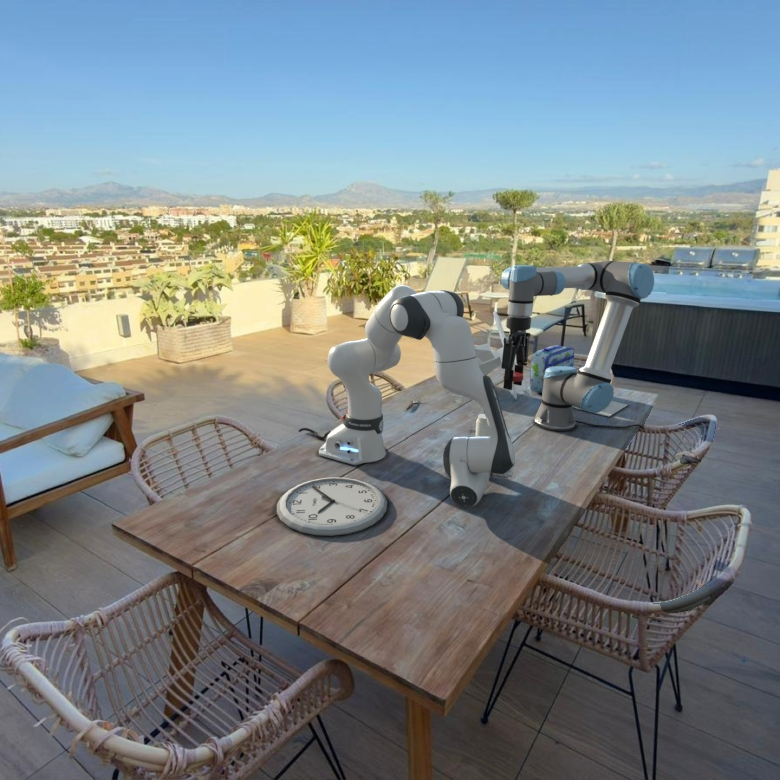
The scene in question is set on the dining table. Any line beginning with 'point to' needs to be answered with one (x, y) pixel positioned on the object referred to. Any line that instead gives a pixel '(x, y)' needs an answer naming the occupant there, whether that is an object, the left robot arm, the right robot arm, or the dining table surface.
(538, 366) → the lunch box
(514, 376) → the lid
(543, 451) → the dining table surface
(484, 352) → the white plastic object
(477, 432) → the jar
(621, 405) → the invitation card
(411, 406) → the fork
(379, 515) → the wall clock
